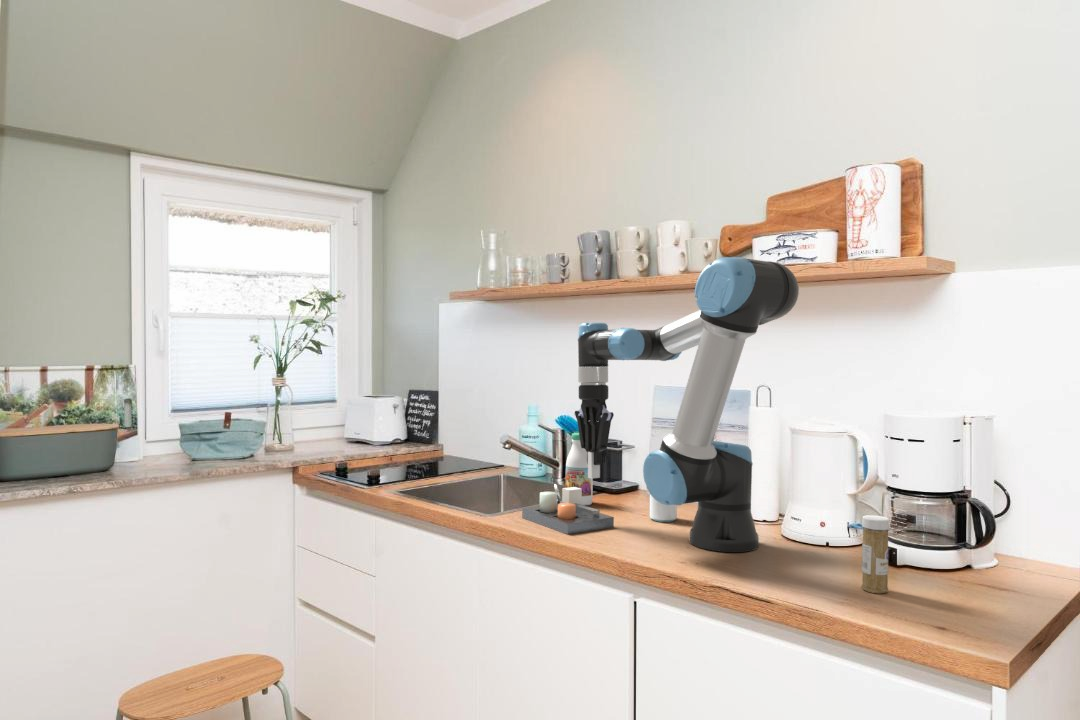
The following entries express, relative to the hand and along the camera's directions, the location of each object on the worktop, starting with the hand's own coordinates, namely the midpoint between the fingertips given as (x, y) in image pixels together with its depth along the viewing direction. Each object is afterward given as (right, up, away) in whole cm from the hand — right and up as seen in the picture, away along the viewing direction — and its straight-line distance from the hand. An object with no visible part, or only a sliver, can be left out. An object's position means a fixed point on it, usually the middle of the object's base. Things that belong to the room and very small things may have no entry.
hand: (593, 477), depth 183 cm
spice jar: (+48, -13, -50) cm, 70 cm away
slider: (-5, -7, +4) cm, 10 cm away
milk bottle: (-3, -11, +24) cm, 26 cm away
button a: (-7, -10, -5) cm, 13 cm away
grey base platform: (-7, -11, 0) cm, 13 cm away
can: (+18, -12, +5) cm, 22 cm away
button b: (-11, -9, +2) cm, 15 cm away
